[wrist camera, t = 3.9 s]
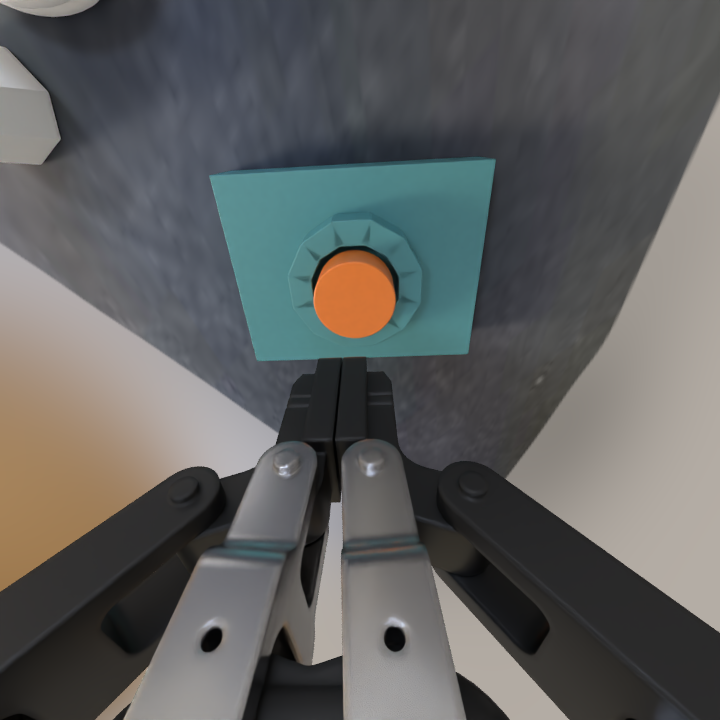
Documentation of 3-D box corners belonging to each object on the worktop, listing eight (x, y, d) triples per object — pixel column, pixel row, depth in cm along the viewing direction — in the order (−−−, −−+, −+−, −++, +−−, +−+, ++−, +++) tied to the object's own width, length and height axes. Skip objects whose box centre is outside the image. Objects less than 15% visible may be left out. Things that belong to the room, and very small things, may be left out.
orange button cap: (393, 247, 17) (396, 259, 15) (393, 319, 19) (395, 337, 17) (313, 251, 17) (307, 263, 15) (322, 322, 19) (318, 340, 18)
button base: (479, 156, 19) (511, 160, 14) (457, 332, 25) (476, 371, 20) (229, 170, 19) (191, 179, 15) (267, 339, 25) (247, 379, 21)
